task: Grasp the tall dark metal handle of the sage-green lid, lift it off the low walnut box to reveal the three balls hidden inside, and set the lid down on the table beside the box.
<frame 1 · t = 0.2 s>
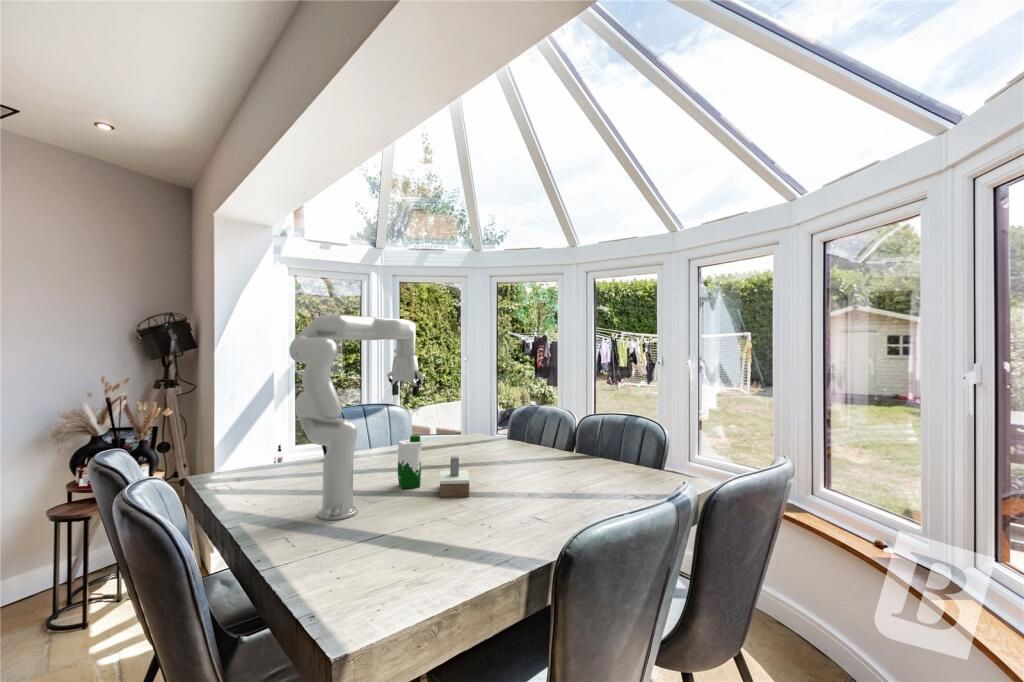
hand: (405, 395, 187), 37 cm above the table, tool pointing down, fingers open, 9 cm apart
ball cream: (447, 483, 187), point 2 cm above the table, touching box
ball terracotta: (460, 482, 187), point 2 cm above the table, touching box
milk carton: (409, 486, 190), on the table
box: (454, 491, 184), on the table
lid: (454, 478, 184), point 5 cm above the table, touching box
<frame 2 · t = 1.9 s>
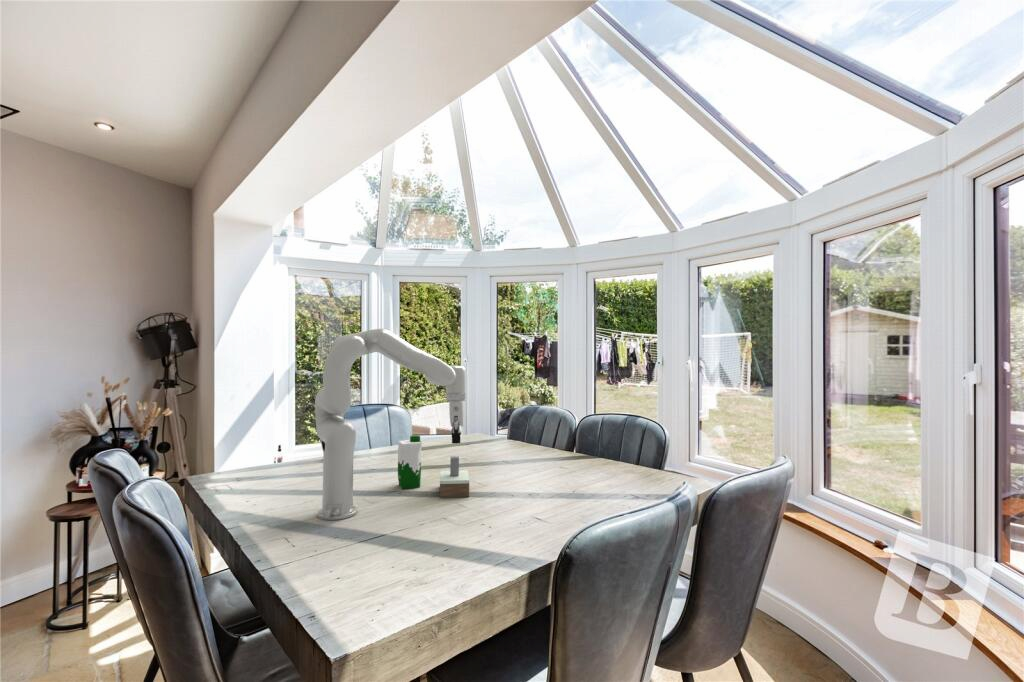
hand: (455, 440, 185), 20 cm above the table, tool pointing down, fingers open, 9 cm apart
nothing on the table moved.
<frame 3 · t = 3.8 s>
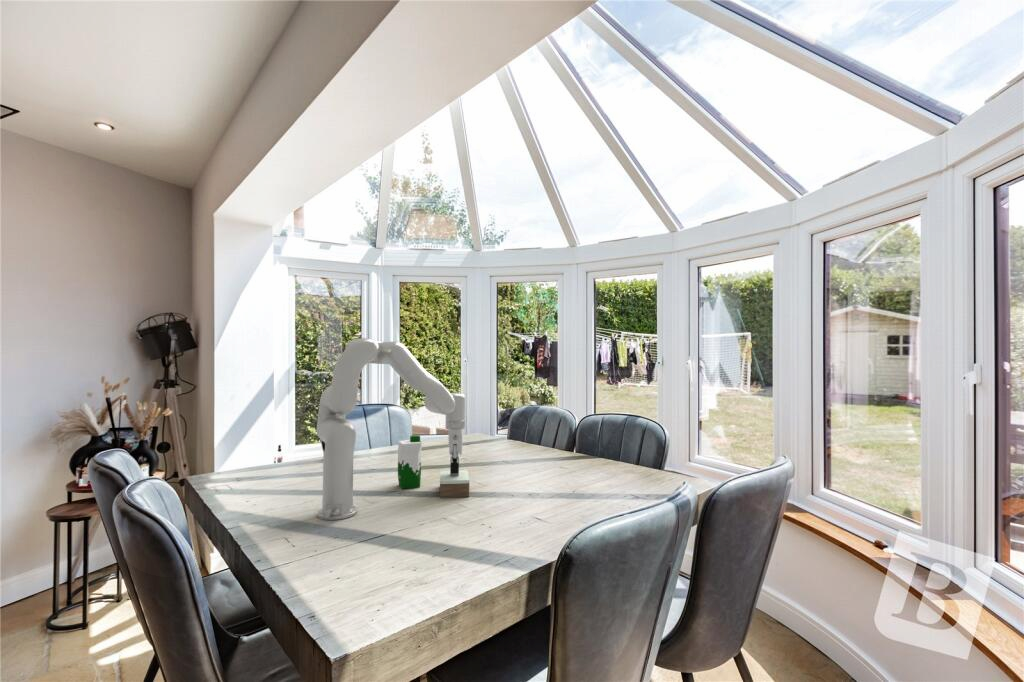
hand: (454, 471, 184), 8 cm above the table, tool pointing down, fingers closed on lid, 3 cm apart
lid: (454, 478, 184), point 5 cm above the table, touching box, gripper
everything else where it was.
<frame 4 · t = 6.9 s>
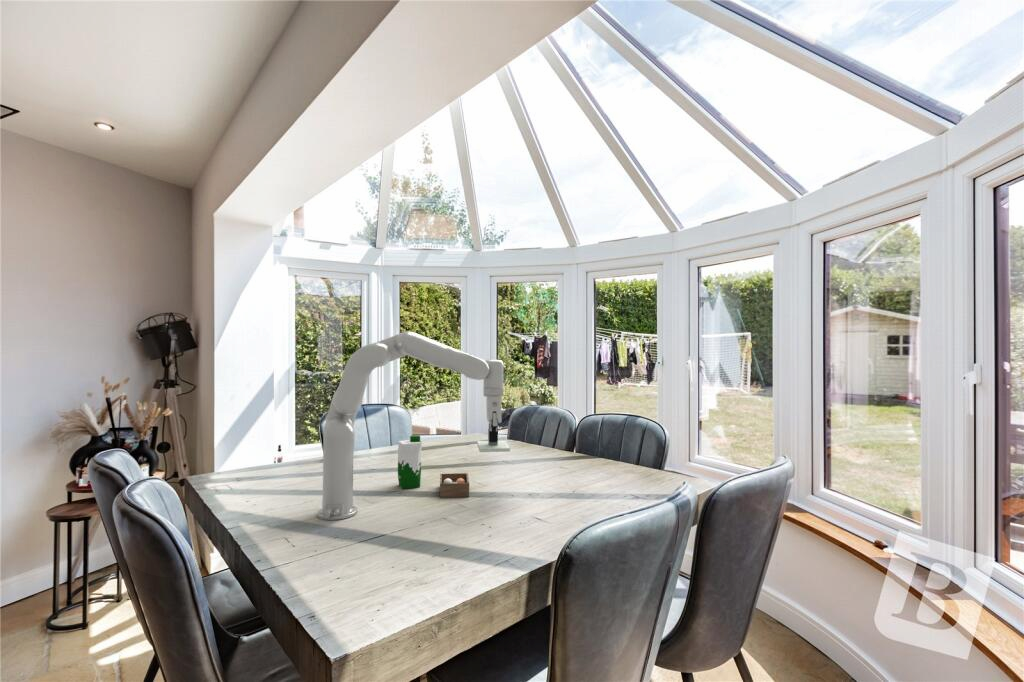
hand: (492, 440, 178), 21 cm above the table, tool pointing down, fingers closed on lid, 3 cm apart
lid: (493, 447, 177), point 19 cm above the table, touching gripper
everything else where it was.
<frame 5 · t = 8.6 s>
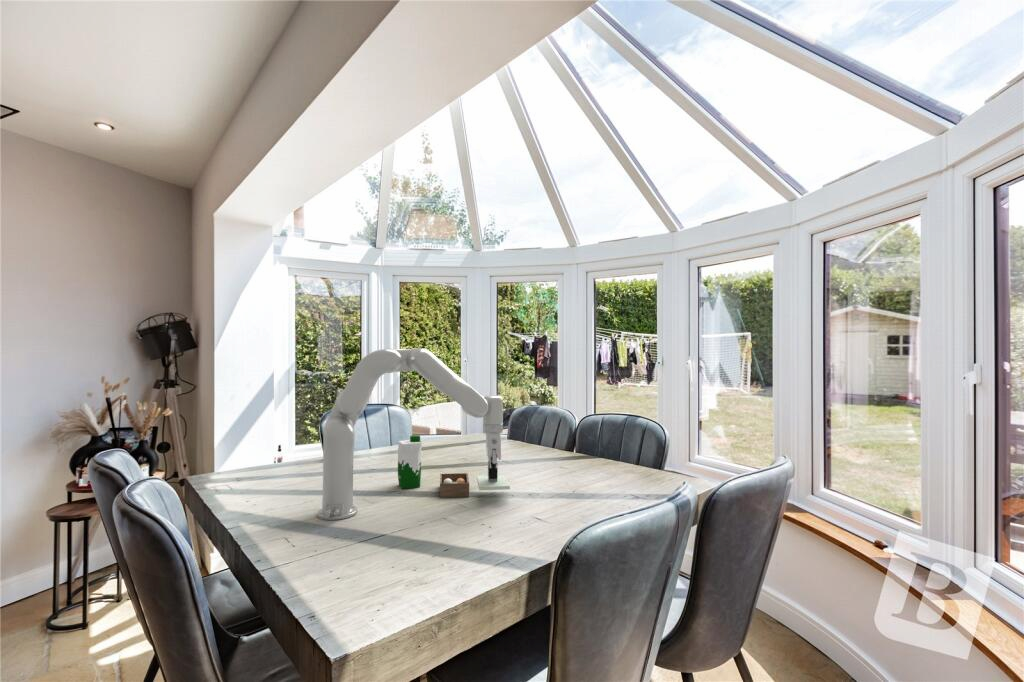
hand: (492, 476, 177), 8 cm above the table, tool pointing down, fingers closed on lid, 3 cm apart
lid: (492, 484, 177), point 5 cm above the table, touching gripper
everything else where it was.
when the fingers open (4 cm above the table, at t = 10.0 s): lid drops 2 cm, on the table.
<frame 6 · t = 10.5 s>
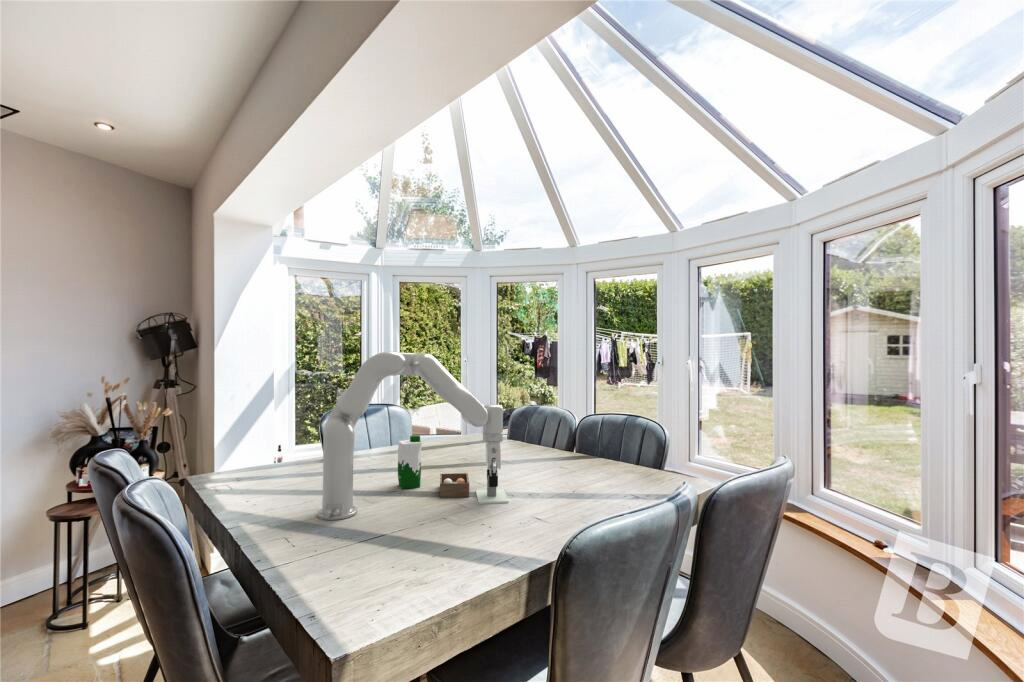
hand: (492, 483, 177), 5 cm above the table, tool pointing down, fingers open, 9 cm apart
lid: (491, 498, 177), on the table
everything else where it was.
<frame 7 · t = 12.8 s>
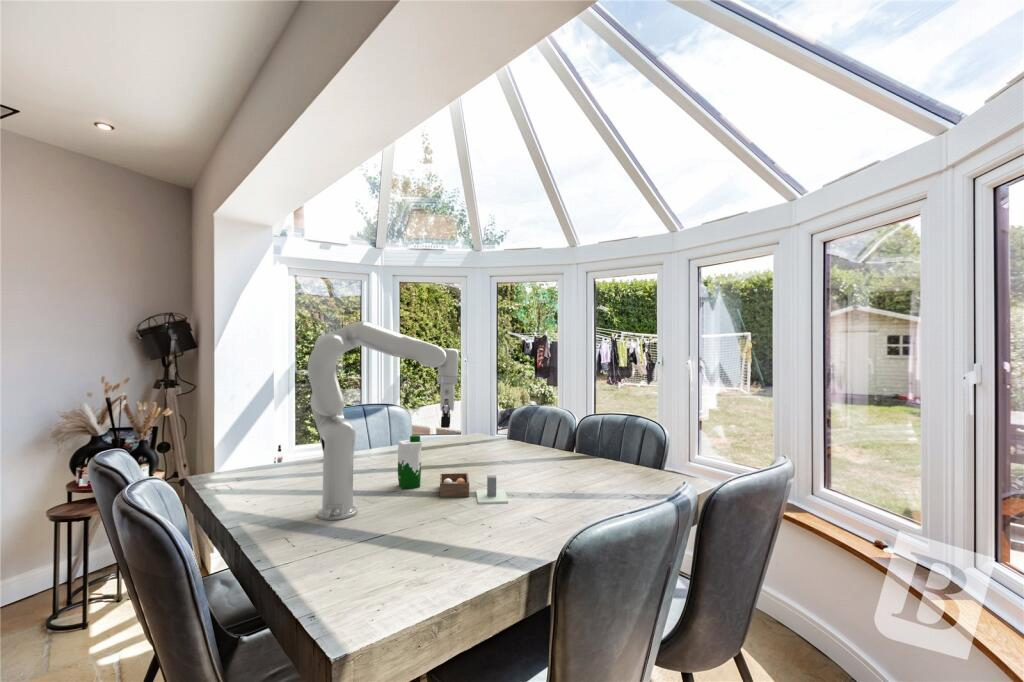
hand: (445, 425, 178), 26 cm above the table, tool pointing down, fingers open, 9 cm apart
nothing on the table moved.
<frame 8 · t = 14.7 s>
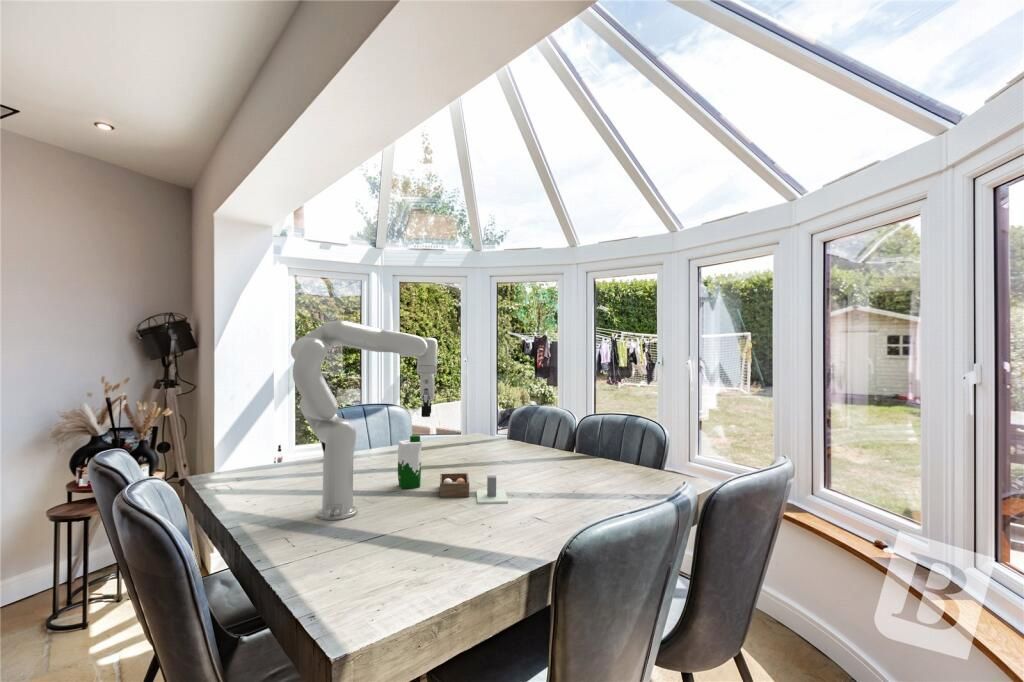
hand: (426, 415, 179), 30 cm above the table, tool pointing down, fingers open, 9 cm apart
nothing on the table moved.
at the end: lid inside the target area (0.2 cm from its centre), on the table; lid touching table; the gripper is holding nothing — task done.
